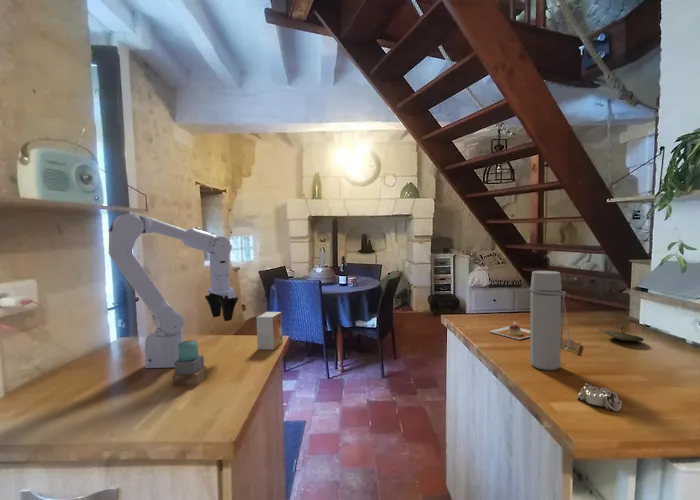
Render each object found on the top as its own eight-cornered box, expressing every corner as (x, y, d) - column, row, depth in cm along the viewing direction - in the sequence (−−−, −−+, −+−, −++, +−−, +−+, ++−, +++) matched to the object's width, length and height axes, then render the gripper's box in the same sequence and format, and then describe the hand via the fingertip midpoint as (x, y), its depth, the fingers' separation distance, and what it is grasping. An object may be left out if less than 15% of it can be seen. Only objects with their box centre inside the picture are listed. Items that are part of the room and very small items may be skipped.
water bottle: (531, 370, 98) (531, 273, 97) (528, 360, 106) (528, 270, 104) (571, 374, 95) (572, 274, 94) (566, 363, 102) (566, 270, 101)
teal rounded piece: (175, 361, 94) (174, 345, 94) (183, 355, 99) (183, 340, 99) (193, 361, 94) (193, 345, 94) (201, 355, 99) (200, 340, 99)
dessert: (519, 342, 123) (519, 327, 123) (488, 334, 134) (488, 320, 133) (541, 336, 130) (541, 322, 129) (510, 328, 140) (510, 315, 140)
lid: (597, 341, 121) (598, 325, 121) (609, 335, 127) (609, 320, 127) (638, 349, 113) (638, 332, 112) (648, 342, 119) (648, 326, 118)
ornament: (628, 406, 78) (629, 389, 78) (613, 416, 74) (613, 398, 74) (587, 393, 85) (587, 377, 85) (571, 401, 81) (571, 384, 81)
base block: (173, 387, 94) (172, 375, 93) (183, 377, 100) (182, 366, 99) (198, 386, 94) (197, 374, 94) (206, 377, 100) (206, 365, 100)
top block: (174, 374, 94) (174, 362, 94) (185, 366, 99) (184, 355, 99) (194, 374, 94) (193, 362, 94) (203, 366, 99) (203, 355, 99)
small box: (273, 350, 120) (272, 317, 119) (257, 349, 121) (255, 316, 120) (283, 342, 127) (282, 311, 127) (267, 342, 128) (266, 311, 128)
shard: (578, 356, 109) (578, 350, 109) (548, 352, 113) (548, 346, 113) (581, 346, 117) (581, 341, 117) (553, 342, 122) (553, 337, 122)
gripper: (243, 275, 116) (245, 319, 117) (221, 272, 126) (223, 312, 127) (221, 278, 111) (223, 324, 112) (200, 274, 121) (202, 316, 122)
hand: (222, 318), depth 119 cm, fingers open, 7 cm apart
